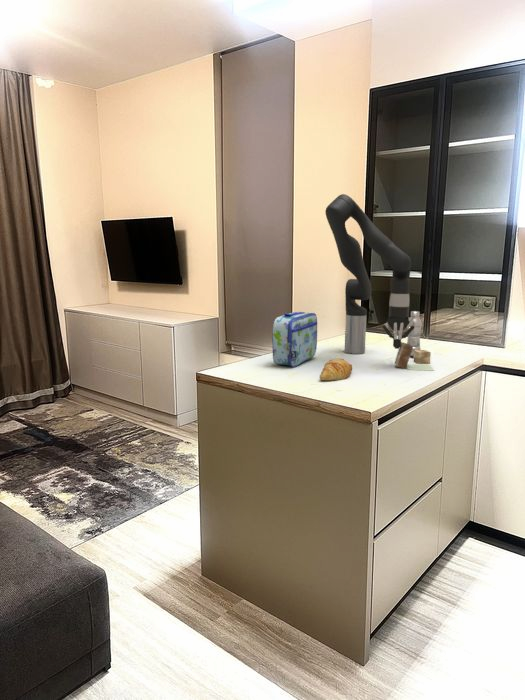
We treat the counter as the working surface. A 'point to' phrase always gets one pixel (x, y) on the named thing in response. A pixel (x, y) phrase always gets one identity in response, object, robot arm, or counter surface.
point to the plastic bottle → (415, 331)
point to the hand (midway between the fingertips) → (396, 348)
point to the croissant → (336, 370)
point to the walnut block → (403, 355)
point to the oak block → (422, 356)
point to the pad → (419, 367)
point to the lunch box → (294, 338)
